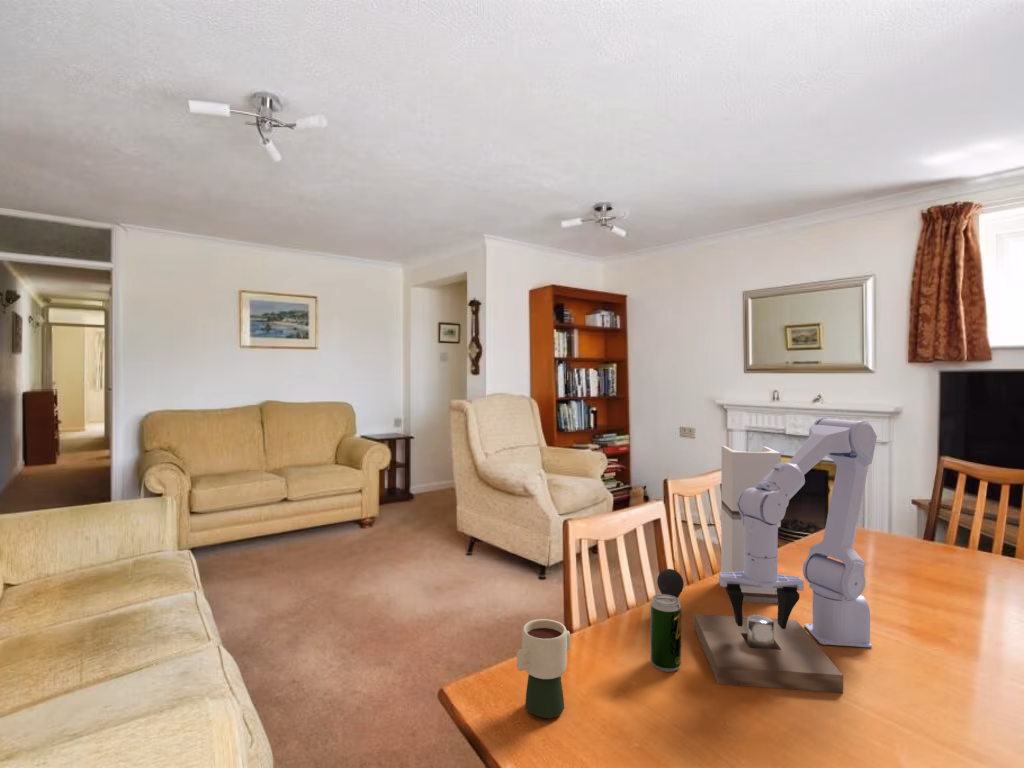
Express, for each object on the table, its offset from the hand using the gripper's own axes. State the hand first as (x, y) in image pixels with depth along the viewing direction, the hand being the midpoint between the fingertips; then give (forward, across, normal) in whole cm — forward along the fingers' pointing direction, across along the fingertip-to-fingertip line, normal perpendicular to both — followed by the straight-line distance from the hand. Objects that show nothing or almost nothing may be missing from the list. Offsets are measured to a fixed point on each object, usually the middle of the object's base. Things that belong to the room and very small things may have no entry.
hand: (760, 625), depth 99 cm
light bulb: (+6, -14, +16) cm, 22 cm away
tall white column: (+6, +7, +31) cm, 32 cm away
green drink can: (+6, -18, -5) cm, 20 cm away
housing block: (+6, 0, 0) cm, 6 cm away
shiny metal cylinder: (+6, 0, 0) cm, 6 cm away
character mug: (+6, -39, -21) cm, 45 cm away
